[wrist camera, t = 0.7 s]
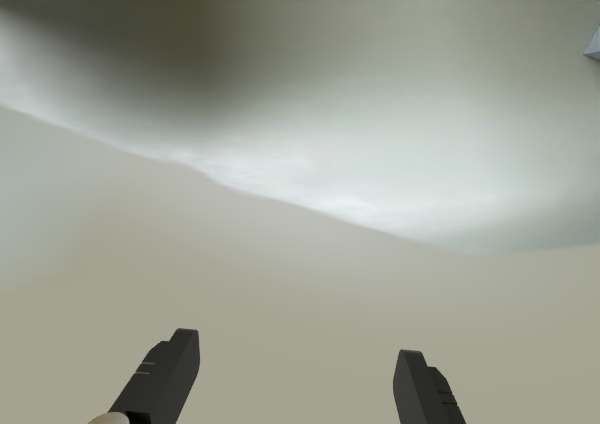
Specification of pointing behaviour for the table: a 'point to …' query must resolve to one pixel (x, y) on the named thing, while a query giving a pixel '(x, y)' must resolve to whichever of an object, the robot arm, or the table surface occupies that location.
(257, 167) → the table surface
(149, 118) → the table surface
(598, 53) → the block slate
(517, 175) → the table surface
